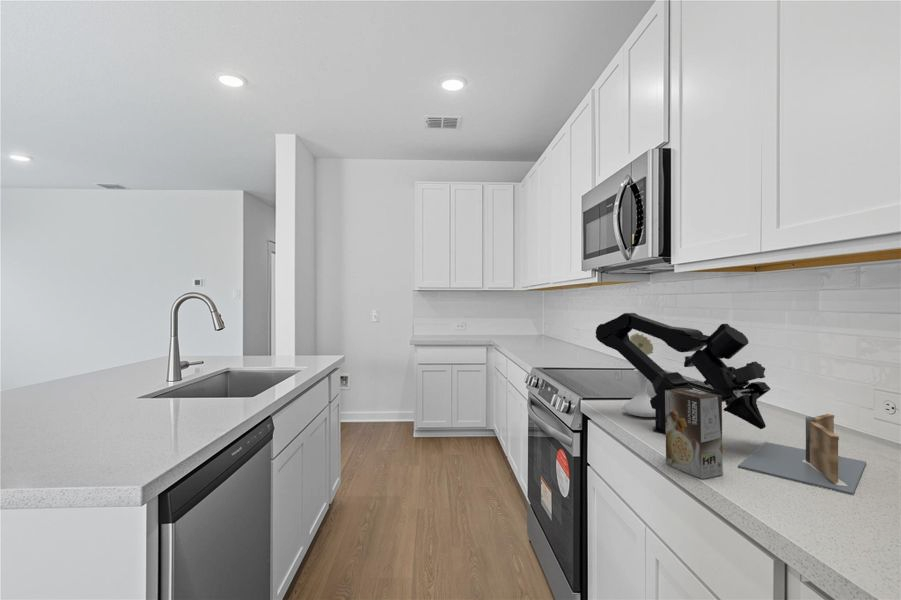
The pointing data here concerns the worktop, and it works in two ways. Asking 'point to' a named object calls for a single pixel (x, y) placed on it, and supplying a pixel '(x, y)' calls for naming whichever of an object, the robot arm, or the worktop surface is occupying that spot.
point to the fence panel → (824, 451)
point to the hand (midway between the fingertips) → (763, 428)
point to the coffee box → (694, 432)
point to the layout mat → (802, 467)
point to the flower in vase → (641, 383)
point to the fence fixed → (824, 421)
